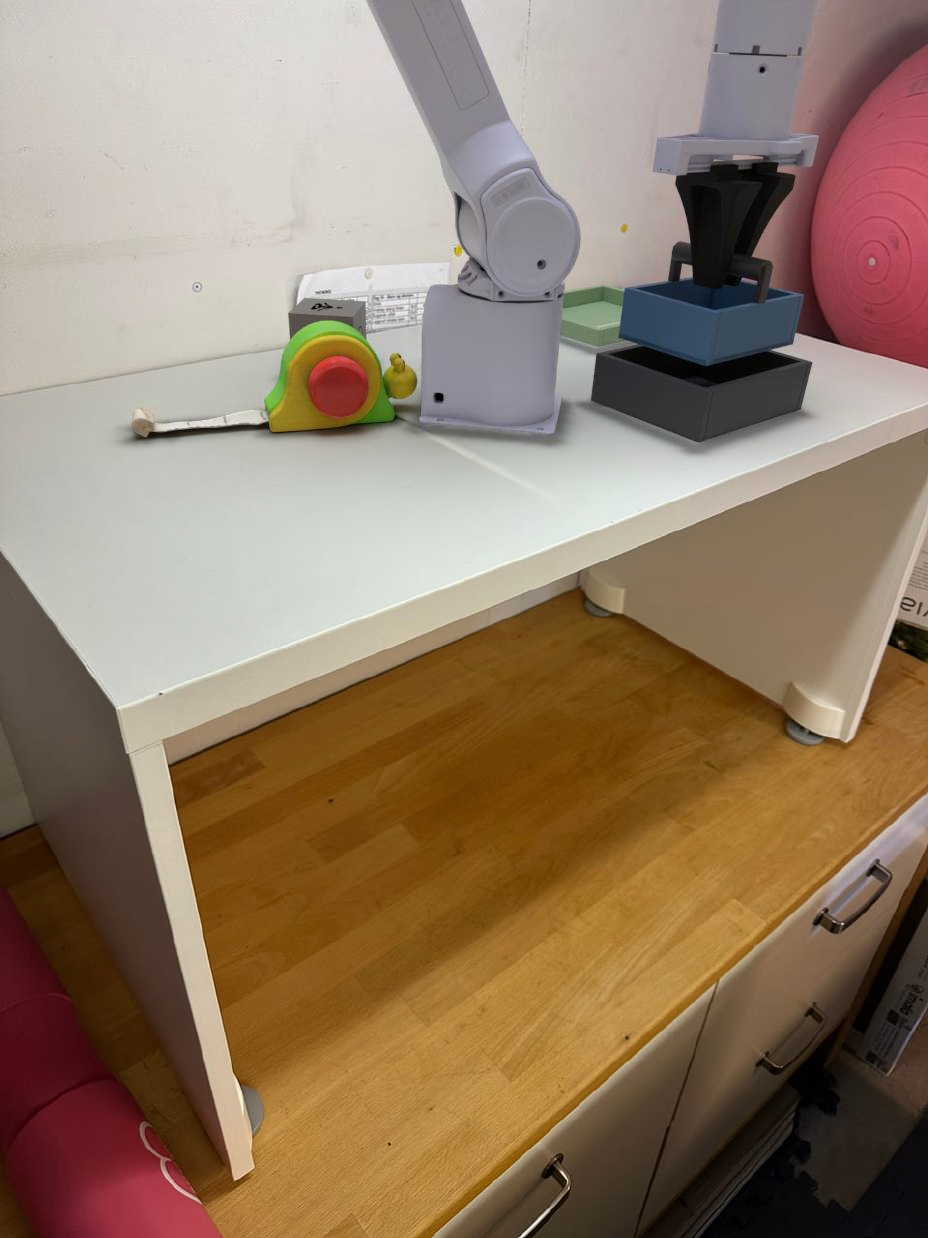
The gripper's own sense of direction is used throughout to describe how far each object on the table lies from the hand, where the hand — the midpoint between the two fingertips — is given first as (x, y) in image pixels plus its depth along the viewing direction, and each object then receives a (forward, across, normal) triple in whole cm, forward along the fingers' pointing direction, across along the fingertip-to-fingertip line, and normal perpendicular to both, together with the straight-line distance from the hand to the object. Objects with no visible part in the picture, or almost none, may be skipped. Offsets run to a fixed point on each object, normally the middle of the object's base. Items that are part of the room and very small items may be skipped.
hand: (715, 284), depth 62 cm
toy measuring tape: (+9, -27, +14) cm, 32 cm away
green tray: (+9, +12, +21) cm, 26 cm away
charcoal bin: (+9, 0, 0) cm, 9 cm away
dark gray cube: (+9, -18, +23) cm, 30 cm away
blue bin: (+4, 0, 0) cm, 4 cm away
